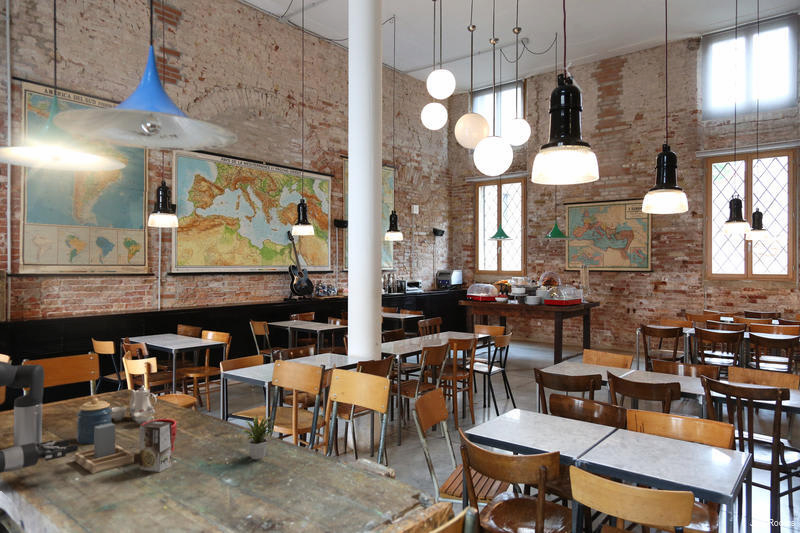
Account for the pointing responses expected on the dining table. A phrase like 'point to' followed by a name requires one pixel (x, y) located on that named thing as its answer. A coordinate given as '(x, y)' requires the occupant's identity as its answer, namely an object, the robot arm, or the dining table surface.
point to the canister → (92, 419)
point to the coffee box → (155, 446)
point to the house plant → (258, 437)
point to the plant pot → (173, 429)
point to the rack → (104, 460)
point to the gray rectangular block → (104, 440)
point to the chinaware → (137, 407)
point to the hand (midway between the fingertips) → (73, 444)
